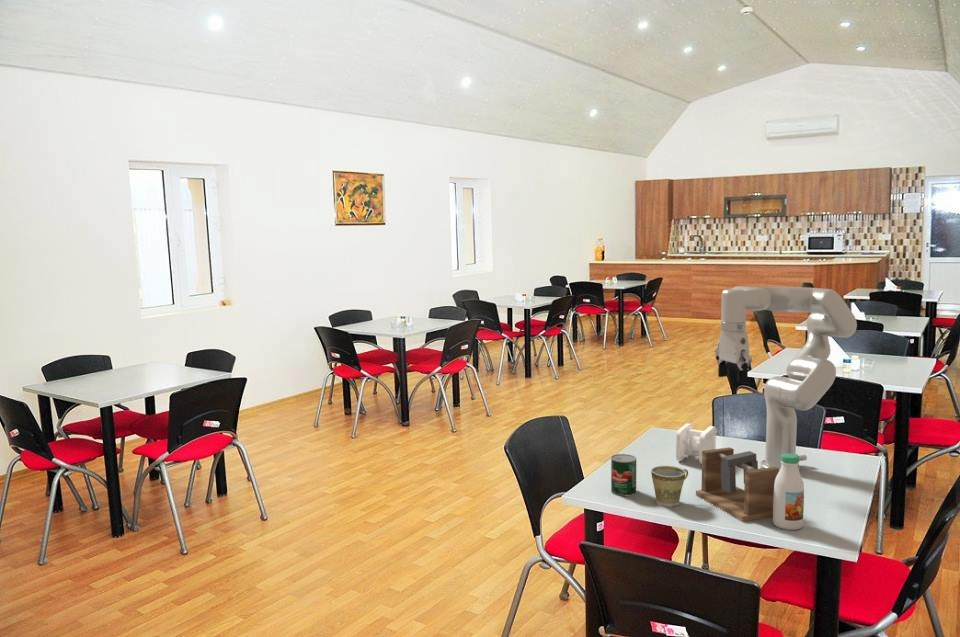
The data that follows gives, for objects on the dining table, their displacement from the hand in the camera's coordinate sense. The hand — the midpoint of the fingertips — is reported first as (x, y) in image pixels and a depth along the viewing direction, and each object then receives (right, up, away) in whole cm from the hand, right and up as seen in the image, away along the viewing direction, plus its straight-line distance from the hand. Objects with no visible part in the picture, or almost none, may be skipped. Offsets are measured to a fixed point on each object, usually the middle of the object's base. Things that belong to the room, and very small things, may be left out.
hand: (732, 379), depth 236 cm
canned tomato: (-37, -35, -7) cm, 51 cm away
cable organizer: (-5, -31, +23) cm, 39 cm away
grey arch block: (-5, -31, -20) cm, 37 cm away
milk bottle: (+3, -38, -35) cm, 52 cm away
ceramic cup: (-24, -36, -16) cm, 46 cm away
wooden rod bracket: (-5, -36, -20) cm, 41 cm away
